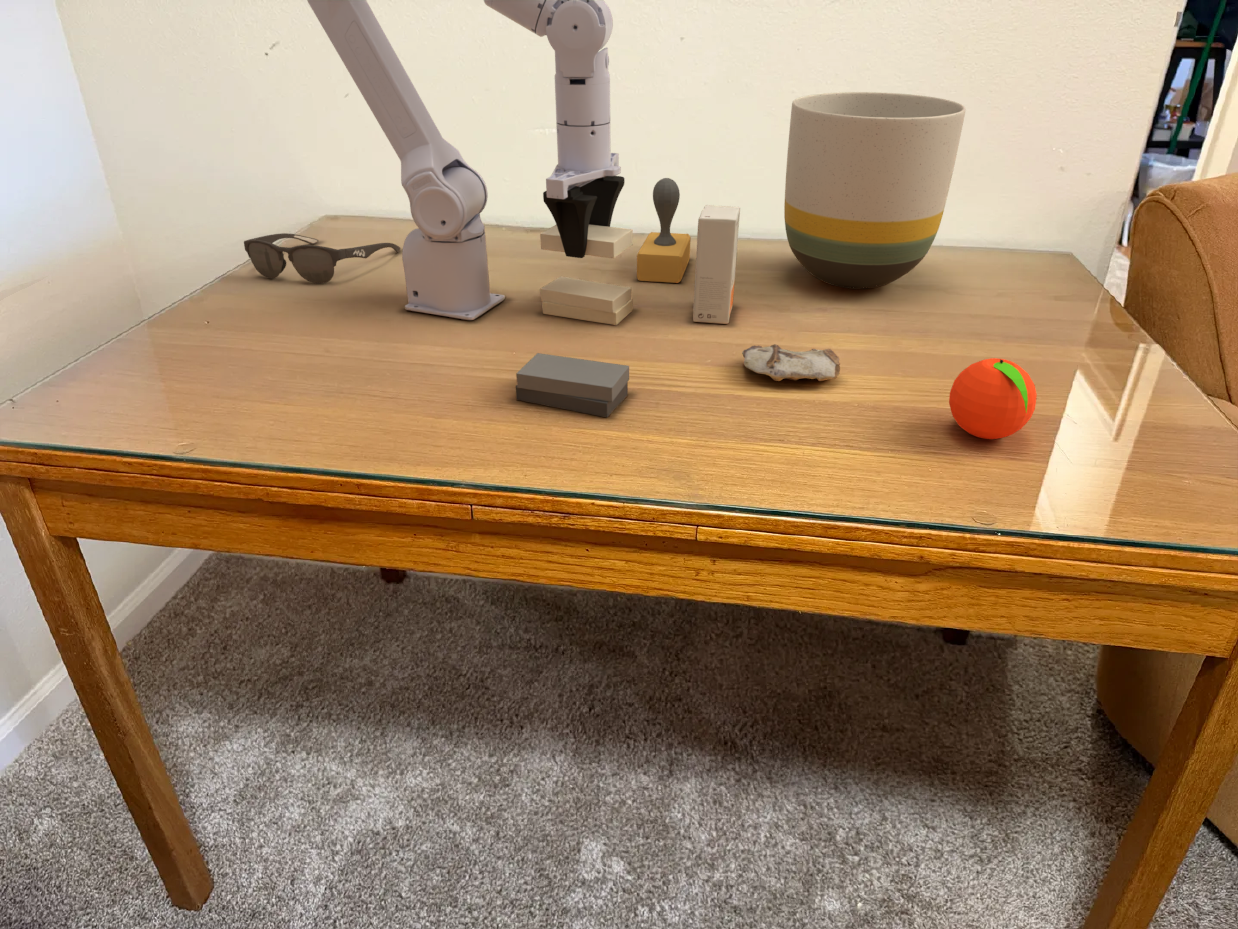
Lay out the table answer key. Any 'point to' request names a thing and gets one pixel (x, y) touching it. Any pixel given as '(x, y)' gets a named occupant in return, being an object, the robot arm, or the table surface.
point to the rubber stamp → (664, 240)
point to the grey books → (573, 384)
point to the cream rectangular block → (593, 240)
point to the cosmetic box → (715, 263)
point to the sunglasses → (303, 256)
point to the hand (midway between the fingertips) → (586, 248)
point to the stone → (792, 363)
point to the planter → (867, 182)
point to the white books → (586, 300)
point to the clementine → (992, 398)
